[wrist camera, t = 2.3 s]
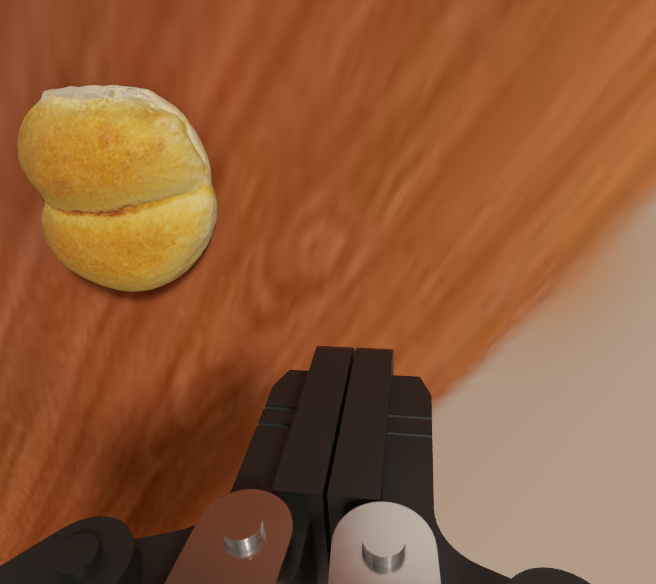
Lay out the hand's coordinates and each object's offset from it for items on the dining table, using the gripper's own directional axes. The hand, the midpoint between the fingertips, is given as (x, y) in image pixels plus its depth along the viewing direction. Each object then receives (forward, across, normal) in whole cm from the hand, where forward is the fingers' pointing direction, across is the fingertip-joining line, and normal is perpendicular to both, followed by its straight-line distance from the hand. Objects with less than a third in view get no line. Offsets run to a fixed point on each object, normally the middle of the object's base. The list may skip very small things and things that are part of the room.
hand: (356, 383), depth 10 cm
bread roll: (+13, +12, 0) cm, 18 cm away
